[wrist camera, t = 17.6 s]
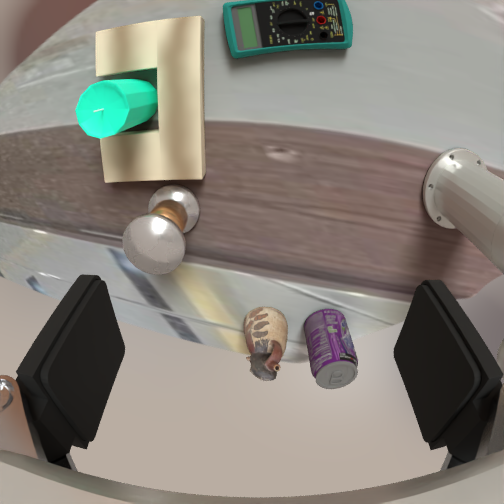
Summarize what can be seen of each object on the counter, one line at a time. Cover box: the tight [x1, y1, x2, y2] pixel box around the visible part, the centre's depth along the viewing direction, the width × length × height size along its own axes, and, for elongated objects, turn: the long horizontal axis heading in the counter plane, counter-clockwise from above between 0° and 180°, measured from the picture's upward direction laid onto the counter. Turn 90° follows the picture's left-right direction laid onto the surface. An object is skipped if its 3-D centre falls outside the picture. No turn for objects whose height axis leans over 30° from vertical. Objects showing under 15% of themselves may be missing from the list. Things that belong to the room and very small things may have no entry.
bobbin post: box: [123, 184, 200, 275], centre depth 38 cm, size 7×7×11 cm
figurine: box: [244, 307, 288, 381], centre depth 48 cm, size 7×7×12 cm
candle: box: [76, 79, 158, 139], centre depth 31 cm, size 6×6×12 cm
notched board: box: [96, 16, 206, 183], centre depth 34 cm, size 13×20×3 cm, turn 179°
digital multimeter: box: [223, 0, 353, 59], centre depth 30 cm, size 7×15×3 cm, turn 99°
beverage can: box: [304, 309, 358, 389], centre depth 48 cm, size 7×7×12 cm
